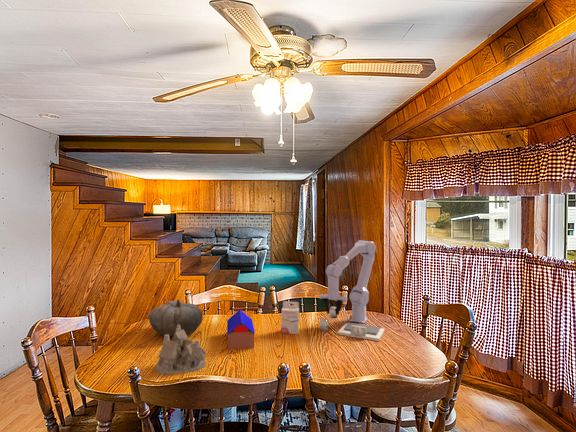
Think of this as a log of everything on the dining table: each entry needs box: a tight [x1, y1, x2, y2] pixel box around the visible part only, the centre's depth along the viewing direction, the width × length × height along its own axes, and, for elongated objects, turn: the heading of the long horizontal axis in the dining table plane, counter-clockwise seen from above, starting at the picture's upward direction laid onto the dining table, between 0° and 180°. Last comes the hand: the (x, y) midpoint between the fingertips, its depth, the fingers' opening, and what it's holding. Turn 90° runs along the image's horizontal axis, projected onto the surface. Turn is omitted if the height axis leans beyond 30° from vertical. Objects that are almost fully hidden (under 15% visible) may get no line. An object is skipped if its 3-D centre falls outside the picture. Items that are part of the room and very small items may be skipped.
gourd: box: [148, 298, 203, 338], centre depth 170 cm, size 25×25×17 cm
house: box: [226, 309, 256, 350], centre depth 161 cm, size 12×20×12 cm, turn 10°
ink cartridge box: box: [280, 300, 300, 335], centre depth 173 cm, size 9×5×15 cm, turn 84°
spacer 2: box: [328, 305, 338, 319], centre depth 183 cm, size 4×4×5 cm
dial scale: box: [337, 322, 386, 342], centre depth 173 cm, size 15×20×5 cm
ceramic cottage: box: [154, 325, 207, 376], centre depth 134 cm, size 16×16×15 cm
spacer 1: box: [319, 318, 330, 332], centre depth 177 cm, size 4×4×5 cm
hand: (333, 313), depth 183 cm, fingers closed on spacer 2, 4 cm apart
